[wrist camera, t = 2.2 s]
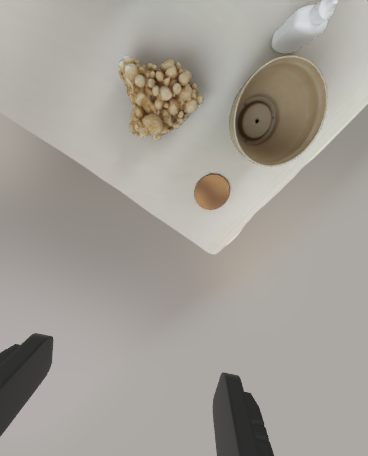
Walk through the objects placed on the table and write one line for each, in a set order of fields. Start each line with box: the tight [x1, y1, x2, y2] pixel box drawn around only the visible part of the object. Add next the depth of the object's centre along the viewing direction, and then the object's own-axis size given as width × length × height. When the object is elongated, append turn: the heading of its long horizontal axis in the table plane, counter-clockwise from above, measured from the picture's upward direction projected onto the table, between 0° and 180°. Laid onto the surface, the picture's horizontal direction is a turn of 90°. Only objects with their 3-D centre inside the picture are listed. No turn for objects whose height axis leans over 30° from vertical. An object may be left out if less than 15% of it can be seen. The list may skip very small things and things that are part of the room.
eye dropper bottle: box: [271, 0, 338, 54], centre depth 30 cm, size 4×6×12 cm
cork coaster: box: [194, 174, 230, 210], centre depth 47 cm, size 9×9×1 cm
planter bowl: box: [229, 55, 327, 167], centre depth 36 cm, size 16×16×11 cm
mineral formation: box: [119, 55, 204, 140], centre depth 35 cm, size 8×13×15 cm
